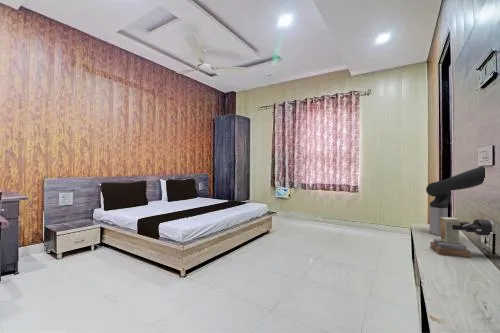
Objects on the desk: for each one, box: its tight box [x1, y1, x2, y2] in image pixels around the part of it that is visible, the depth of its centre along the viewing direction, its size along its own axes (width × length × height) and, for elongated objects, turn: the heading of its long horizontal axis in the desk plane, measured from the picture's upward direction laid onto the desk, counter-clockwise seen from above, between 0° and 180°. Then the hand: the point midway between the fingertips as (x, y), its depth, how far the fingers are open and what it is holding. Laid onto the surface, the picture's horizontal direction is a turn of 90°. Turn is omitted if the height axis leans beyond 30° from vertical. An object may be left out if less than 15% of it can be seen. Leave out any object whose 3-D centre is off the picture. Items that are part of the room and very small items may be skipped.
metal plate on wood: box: [429, 238, 471, 259], centre depth 124 cm, size 12×12×5 cm
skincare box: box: [440, 217, 460, 243], centre depth 124 cm, size 6×4×12 cm
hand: (448, 225), depth 124 cm, fingers open, 8 cm apart
